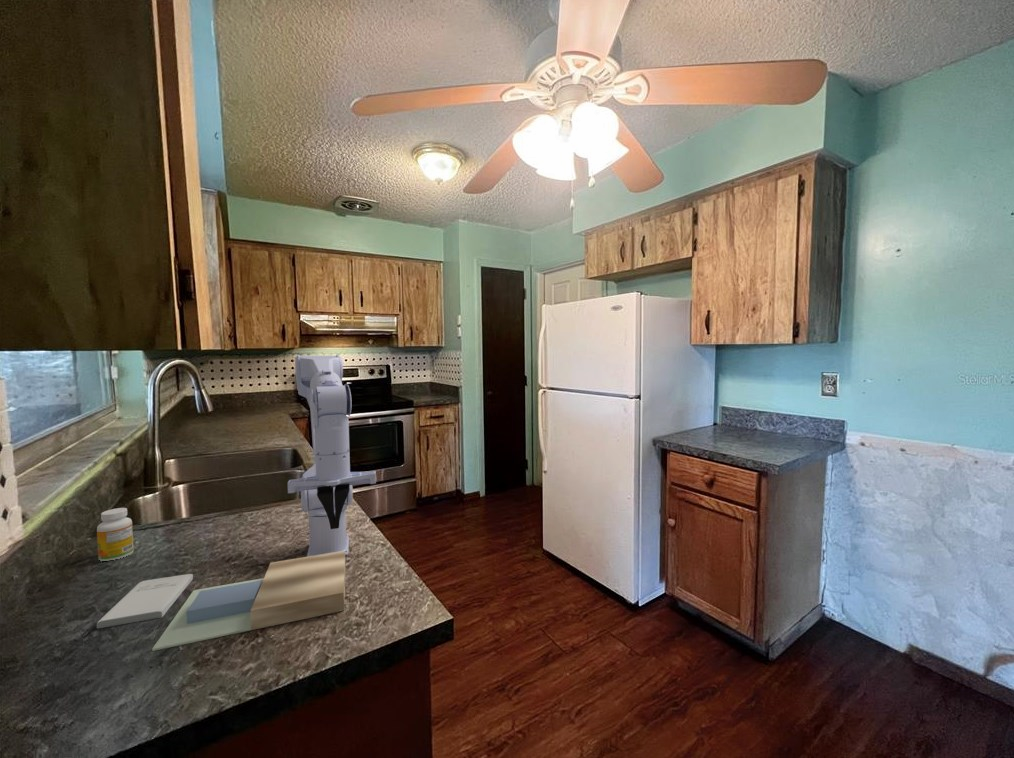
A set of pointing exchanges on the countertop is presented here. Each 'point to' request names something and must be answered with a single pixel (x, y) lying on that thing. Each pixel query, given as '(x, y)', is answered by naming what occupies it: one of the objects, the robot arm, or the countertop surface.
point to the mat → (202, 625)
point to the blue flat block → (223, 602)
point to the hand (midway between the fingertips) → (335, 526)
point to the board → (300, 590)
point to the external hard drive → (146, 601)
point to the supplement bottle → (114, 535)
